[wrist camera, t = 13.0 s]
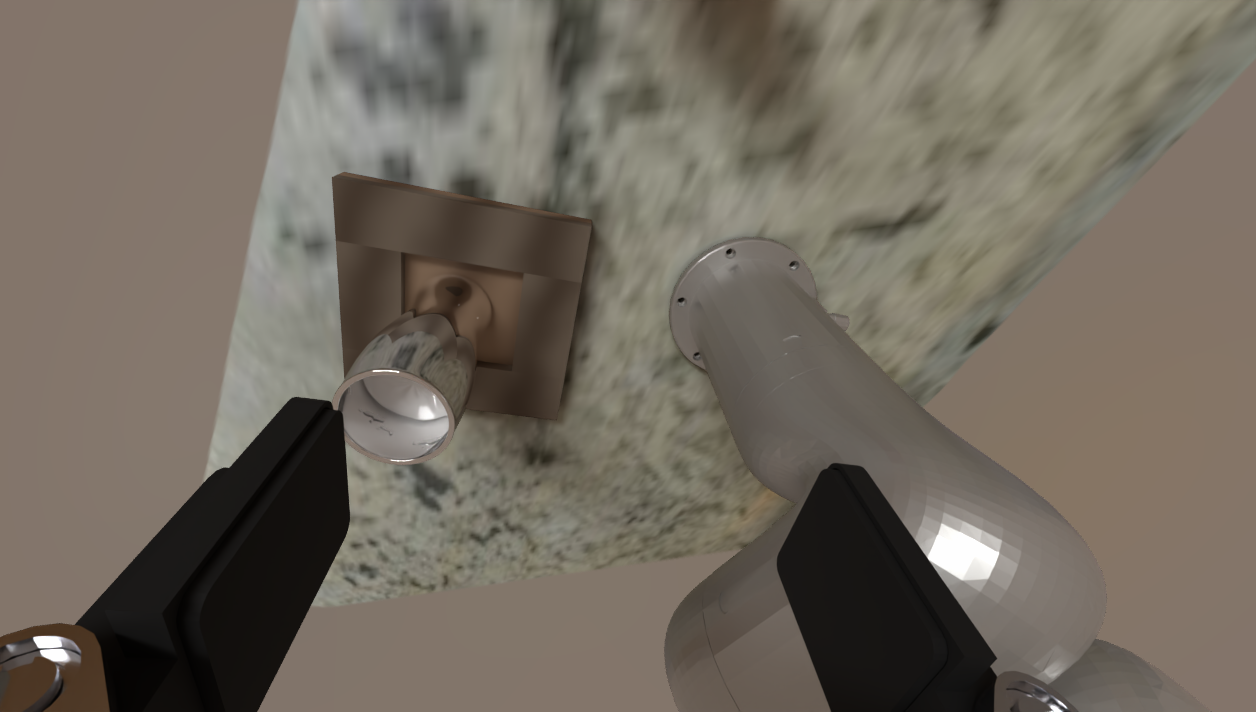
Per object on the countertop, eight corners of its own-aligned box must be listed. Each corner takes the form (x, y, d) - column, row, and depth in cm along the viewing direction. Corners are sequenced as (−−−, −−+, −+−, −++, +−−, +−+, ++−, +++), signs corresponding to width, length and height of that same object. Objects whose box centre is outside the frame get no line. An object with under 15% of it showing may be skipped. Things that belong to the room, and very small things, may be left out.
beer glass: (477, 359, 44) (432, 483, 31) (397, 324, 42) (311, 441, 29) (511, 293, 41) (477, 398, 28) (427, 252, 39) (348, 345, 26)
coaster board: (591, 219, 40) (591, 226, 38) (557, 407, 48) (556, 420, 46) (343, 171, 37) (332, 177, 35) (354, 381, 45) (345, 393, 43)
